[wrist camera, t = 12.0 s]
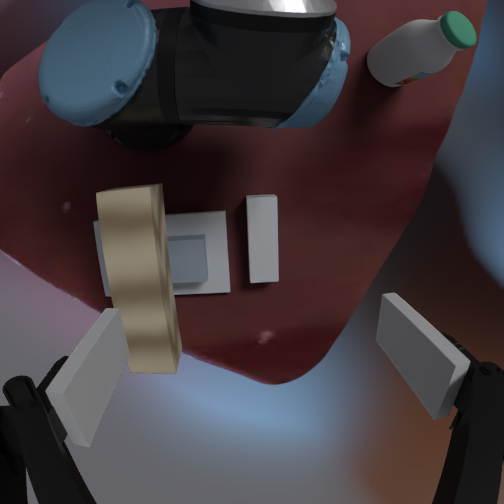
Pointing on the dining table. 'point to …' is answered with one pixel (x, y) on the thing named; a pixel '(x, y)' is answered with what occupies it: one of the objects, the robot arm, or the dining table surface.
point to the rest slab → (262, 238)
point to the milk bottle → (419, 49)
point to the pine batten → (141, 275)
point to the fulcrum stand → (190, 252)
